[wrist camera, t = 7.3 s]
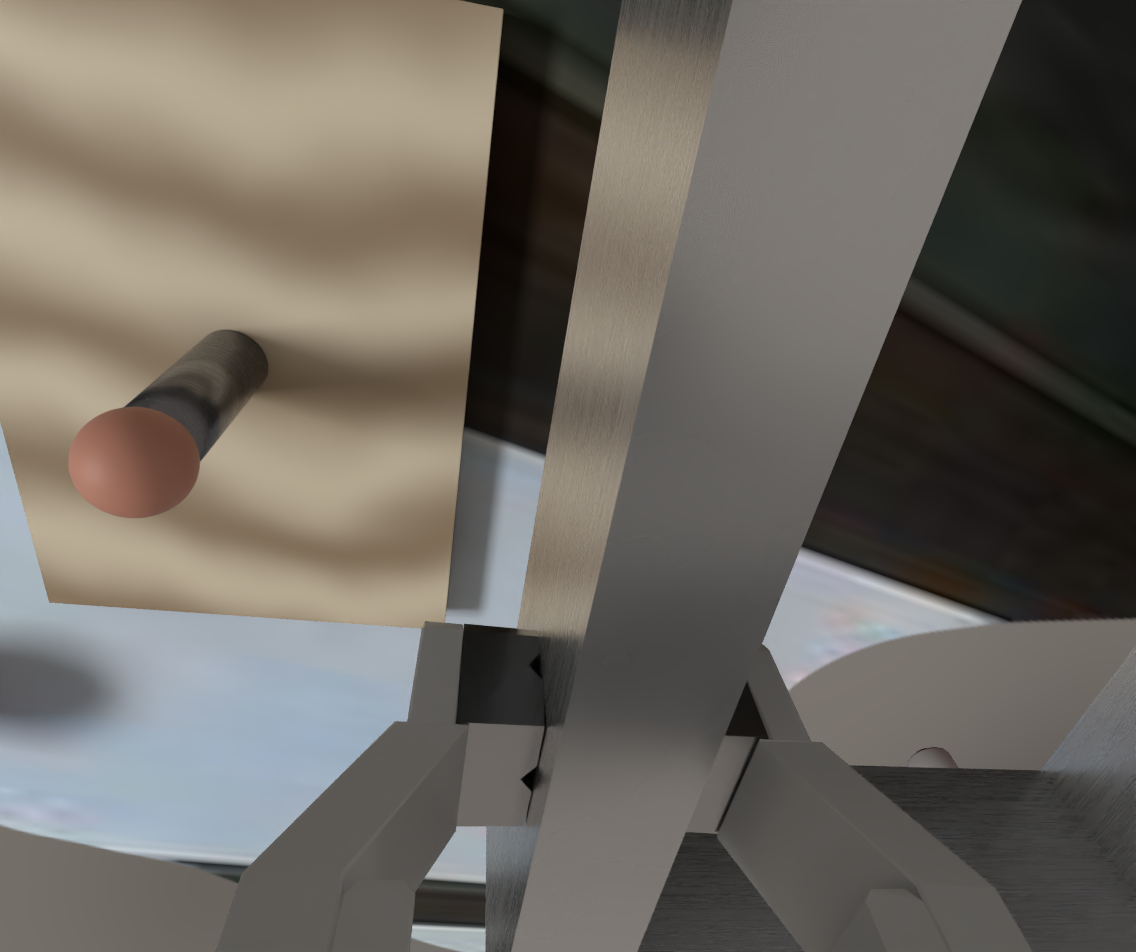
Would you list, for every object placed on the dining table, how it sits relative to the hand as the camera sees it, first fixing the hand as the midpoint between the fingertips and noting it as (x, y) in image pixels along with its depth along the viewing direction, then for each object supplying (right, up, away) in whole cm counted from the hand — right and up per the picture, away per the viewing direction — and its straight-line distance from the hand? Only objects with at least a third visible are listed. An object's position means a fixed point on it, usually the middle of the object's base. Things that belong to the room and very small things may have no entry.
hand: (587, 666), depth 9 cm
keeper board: (-13, +8, +19) cm, 24 cm away
